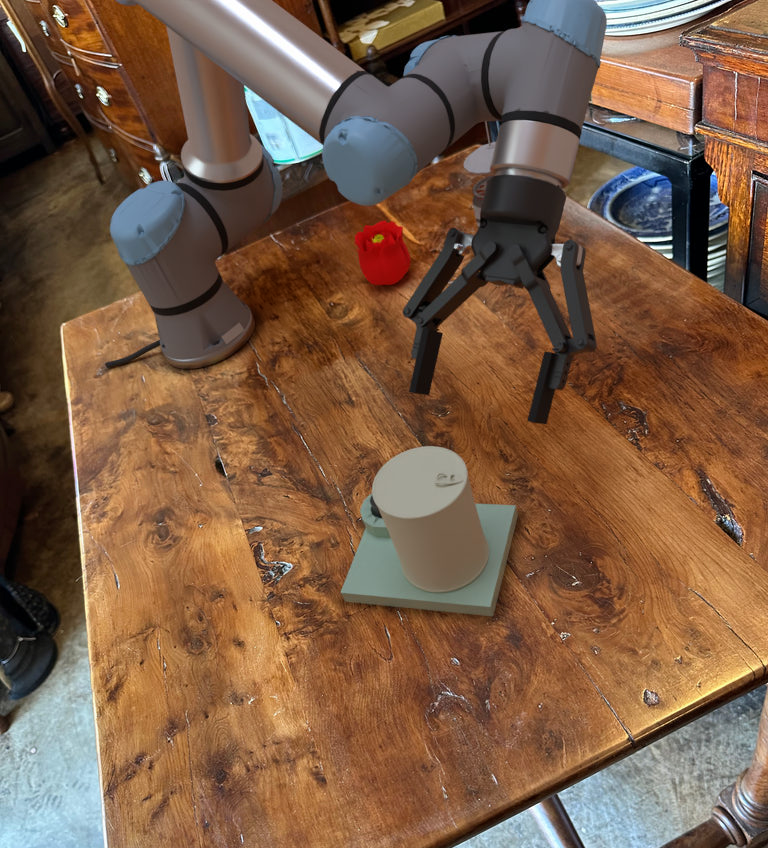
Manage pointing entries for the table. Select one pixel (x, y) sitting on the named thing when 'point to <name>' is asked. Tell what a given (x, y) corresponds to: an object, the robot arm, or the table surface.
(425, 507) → the can
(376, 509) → the button
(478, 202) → the french press
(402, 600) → the scale
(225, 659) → the table surface
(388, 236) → the flower
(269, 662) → the table surface
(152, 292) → the robot arm
